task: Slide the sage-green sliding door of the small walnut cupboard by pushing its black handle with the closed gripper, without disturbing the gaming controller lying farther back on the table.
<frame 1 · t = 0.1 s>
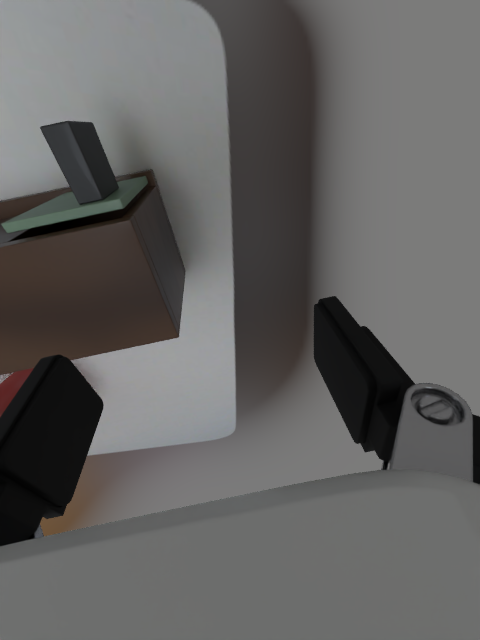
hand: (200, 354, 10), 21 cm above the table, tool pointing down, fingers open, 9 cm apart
cupboard: (97, 244, 28), on the table
flower pot: (47, 379, 38), on the table
sliding door: (74, 169, 19), point 6 cm above the table, slide at 0.0 cm
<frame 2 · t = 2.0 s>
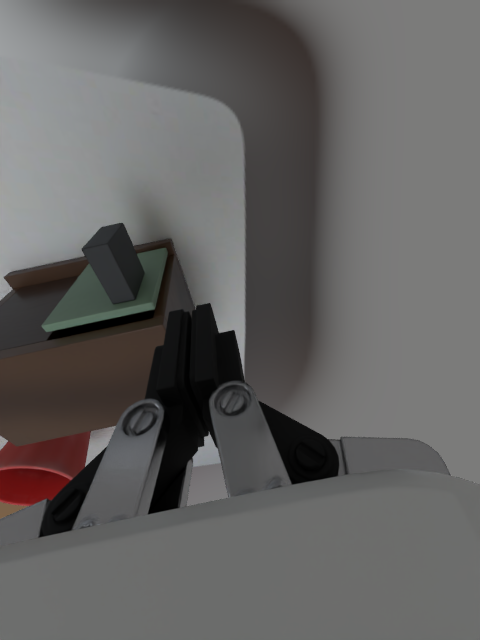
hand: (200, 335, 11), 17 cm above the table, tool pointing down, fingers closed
cupboard: (116, 302, 29), on the table
flower pot: (63, 416, 39), on the table
sliding door: (104, 259, 20), point 6 cm above the table, slide at 0.0 cm
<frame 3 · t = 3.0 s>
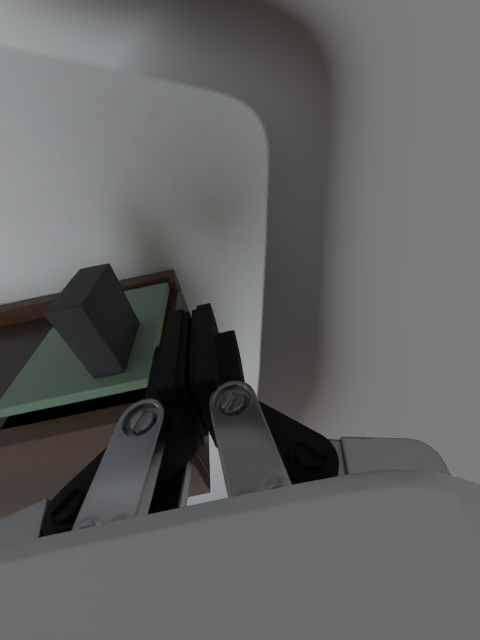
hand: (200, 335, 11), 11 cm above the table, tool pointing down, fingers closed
cupboard: (107, 342, 24), on the table
sliding door: (85, 308, 15), point 6 cm above the table, slide at 0.0 cm
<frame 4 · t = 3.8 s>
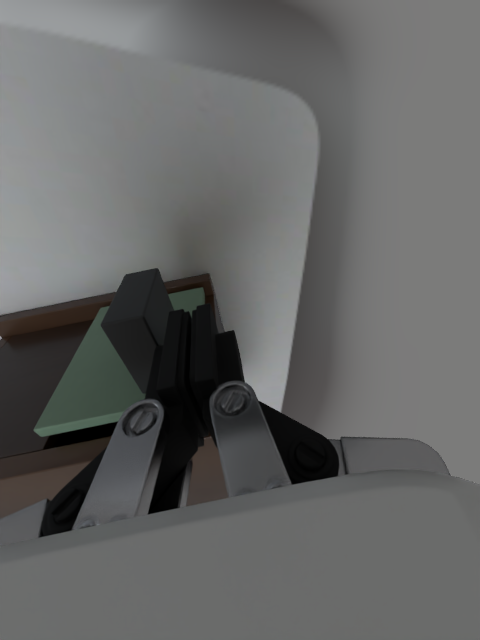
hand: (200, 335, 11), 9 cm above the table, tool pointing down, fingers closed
cupboard: (133, 348, 23), on the table
sliding door: (126, 316, 14), point 6 cm above the table, slide at 0.1 cm, touching gripper
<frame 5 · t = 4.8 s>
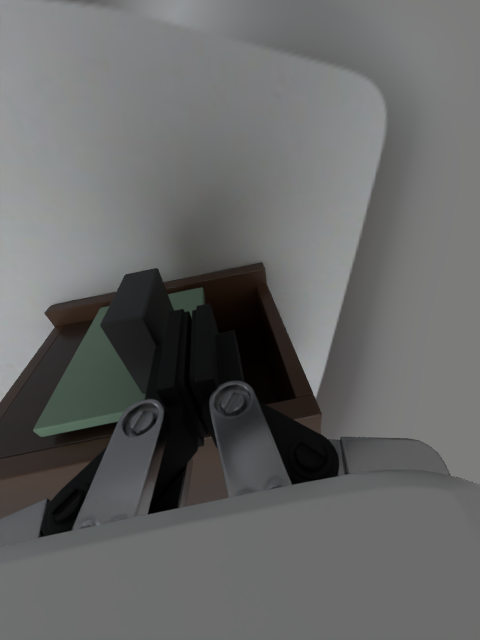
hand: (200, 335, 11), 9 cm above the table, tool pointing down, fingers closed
cupboard: (179, 339, 23), on the table
sliding door: (126, 316, 14), point 6 cm above the table, slide at 4.1 cm, touching gripper
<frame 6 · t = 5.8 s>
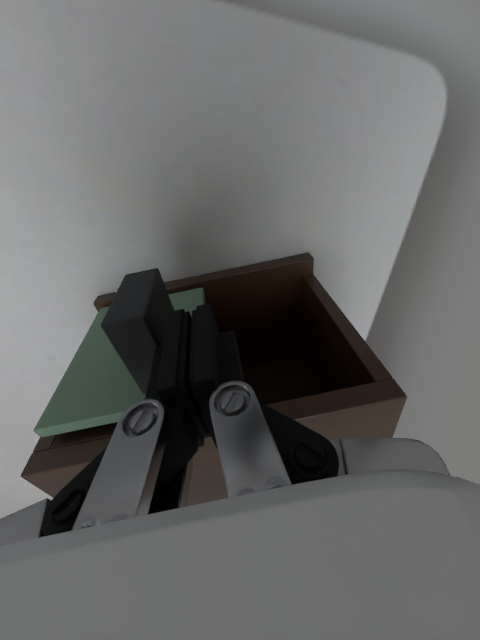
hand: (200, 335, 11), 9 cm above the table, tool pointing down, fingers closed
cupboard: (218, 331, 23), on the table
sliding door: (126, 316, 14), point 6 cm above the table, slide at 7.6 cm, touching gripper
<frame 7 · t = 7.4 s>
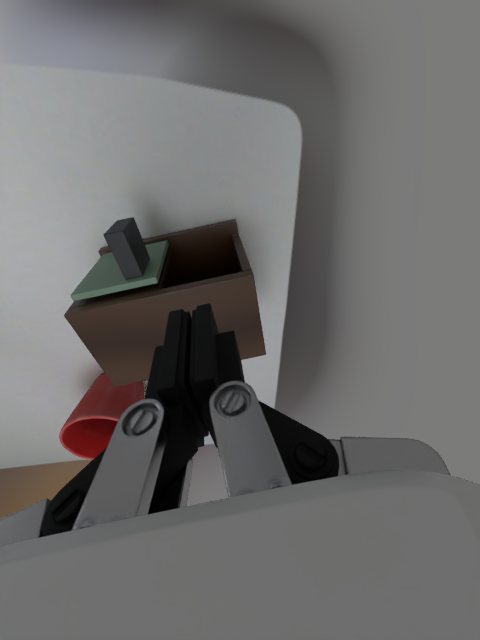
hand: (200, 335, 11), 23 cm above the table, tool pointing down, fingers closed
cupboard: (182, 276, 34), on the table
flower pot: (119, 385, 44), on the table
sliding door: (117, 247, 25), point 6 cm above the table, slide at 7.5 cm
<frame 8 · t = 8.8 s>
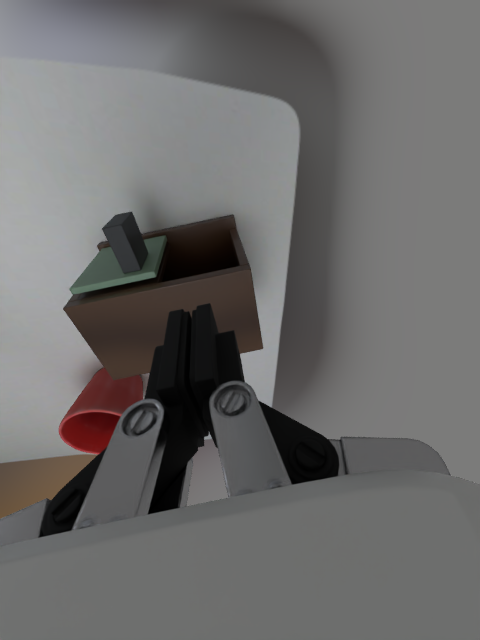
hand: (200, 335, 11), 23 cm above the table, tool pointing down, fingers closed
cupboard: (180, 271, 34), on the table
flower pot: (118, 380, 44), on the table
sliding door: (116, 241, 25), point 6 cm above the table, slide at 7.5 cm
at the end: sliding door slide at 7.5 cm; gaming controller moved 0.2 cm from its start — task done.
